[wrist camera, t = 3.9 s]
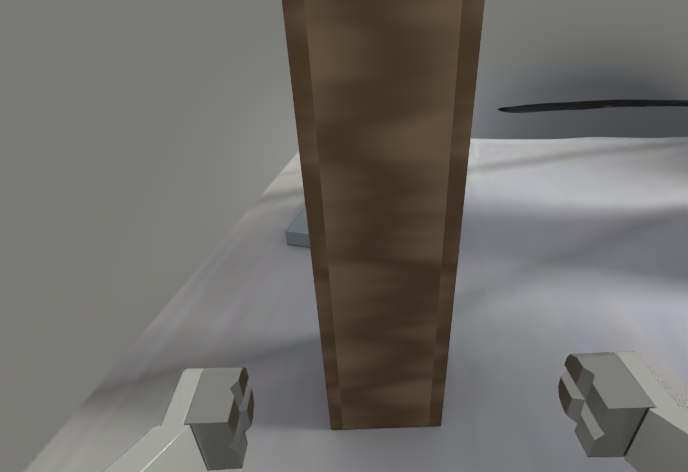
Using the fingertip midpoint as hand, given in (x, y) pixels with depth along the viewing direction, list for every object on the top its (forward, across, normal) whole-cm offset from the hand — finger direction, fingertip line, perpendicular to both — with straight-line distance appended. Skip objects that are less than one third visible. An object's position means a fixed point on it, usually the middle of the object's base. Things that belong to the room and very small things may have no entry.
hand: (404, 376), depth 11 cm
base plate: (+34, +1, -14) cm, 37 cm away
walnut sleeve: (+11, 0, -14) cm, 18 cm away
